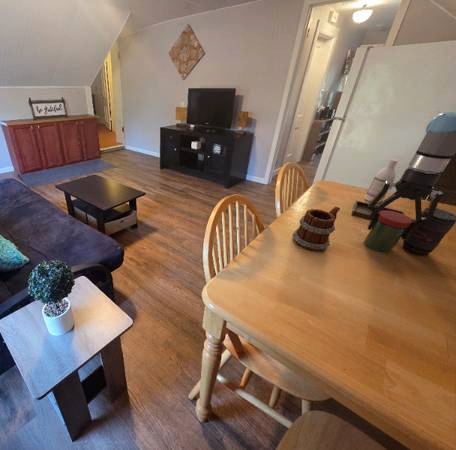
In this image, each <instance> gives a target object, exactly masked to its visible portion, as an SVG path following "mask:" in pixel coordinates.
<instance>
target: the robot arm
mask: <svg viewBox="0 0 456 450" xmlns="http://www.w3.org/2000/svg"><path fill="white" fill-rule="evenodd" d="M455 155H456V112H455V111H454V112H453V111H447V112H441V113H439V114H438V115H437V116H435V117H434V118H432V119H431V120H430V121H429V122H428V124H427V125H426V127H425V135H424V137H423V139H422V140H421V142H420V144H419V146H418V148H417V149H416V151H415V153H414V155H413V157H412V158H411V160H410V162H409V163H408V167H406V168H405V170H404V172H403V174H402V175H401V177H400V179H399V180H398V181H397V182H393V183H389V182H388V181H386V182H385V183H384V186H383V188H382V189H381V190H380V192H379V193H378V194H377V195H376V196H375V197H374V198H373V200H372V201H371V202H370V201H369V202H368V209H370V210H372V212H371V214H370V216H369V219H368V220H369V221H370V222H369V224H368V225H367V230H369V231H370V230H371V228H372V226H373V225H374V223H375V221H376V219H377V218H378V216H379V213H380V210H381V209H383V208H384V207H385V208H387V206H388V205H390V204H392V203H393V202H394V201H396V200H398V199H400V198H401V199H408V200H411V201H414V211H415V219H414V218H411V219H412V223H411V224H410V226H409V227H408V228H407V229H406V230H405V232H404V233H403V235H402V236H401V238H400V239H401V240H403V241H404V240H405V238H406V237H407V235H408V234H409V232H410V231H415V230H416V229H417V228H418V226H419V225H420V224H422V223H431V221H432V218H433V215H434V212H435V210H436V208H437V207H438V204H439V202H440V201H441V199H443V198H444V196H445V195H444V193H443V191H441V190H435V189H433V188H434V186H435V184H436V183H437V181H438V179H440V177H441V173H442V172H444V170H445V169H446V167H447V166H448V164H449V163H450V162H451V160H452V158H453V157H454V156H455ZM393 188H395V192H393V193H392V194H391V195H390V196H388V197H387V198H384V199H383V201H382V202H380V203H377V202H378V201H379V200H380V199H381V198H382V197H383V196H384V194H385V193H386V192H387V191H388V192H389V190H392V189H393ZM388 192H387V193H388ZM428 195H430V201H429V205H428V206H427V208H428V210H427V213H426V216H425V218H422V211H423V210H422V198H424V197H426V196H428ZM375 205H377V206H375Z"/></svg>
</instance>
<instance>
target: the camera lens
mask: <svg viewBox="0 0 456 450" xmlns="http://www.w3.org/2000/svg"><path fill="white" fill-rule="evenodd" d="M427 210H428V207H426V208H425V207H424V209H423V210H422V218H425V216H426V213H427ZM455 224H456V215H455V214H454V213H453V212H451V211H447V210H444V209H441V208H437V207H436V210H435V212H434V215H433V218H432V221H431V223H422V224H420V225H419V226H418V228H417V229H416V230H415V231H410V232H409V234H408V235H407V237H406V238H405V240H404V239H403V241H402V243H403V244H402V246H401V247H402V249H404V251H406V252H407V253H410V254H412V255H415V256H422V257H425V256H428V255H429V254H430V253H432V252H433V251H434V250H436V248H437V247H438V246H439V244H440V243H441V242H442V240H443V239H444V237H445V236H446V235H447V234H448V233H449V232H450V231H451V230H452V228H453V227H454V226H455Z"/></svg>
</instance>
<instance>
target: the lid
mask: <svg viewBox="0 0 456 450" xmlns="http://www.w3.org/2000/svg"><path fill="white" fill-rule="evenodd" d="M377 219H378V220H379V221H380V222H382V223H384V224H386V225H389V226H393V227H397V228H408V227H409V226H410V224H411V223H412V219H413V218H411V217H410V216H408V215H405V213H404V214H401V213H398V212H394V211H386V210H384V211H380V213H379V216H378V218H377Z"/></svg>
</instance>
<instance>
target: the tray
mask: <svg viewBox="0 0 456 450" xmlns="http://www.w3.org/2000/svg"><path fill="white" fill-rule="evenodd" d="M368 204H369V202H363V201H359V200H355V201H354V203H353V208H352V211H351V216H354V217H357V218H362V219H366V220H369V216H370V214H371V212H372V210H370V209H368ZM377 205H378V204H376V205H375V206H377ZM384 210H386V211H394V212H398V213H401V214H404V215H405V211H402V210H398V209H394V208H389V207H384V208H383V209H381V210H380V211H384Z"/></svg>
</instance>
